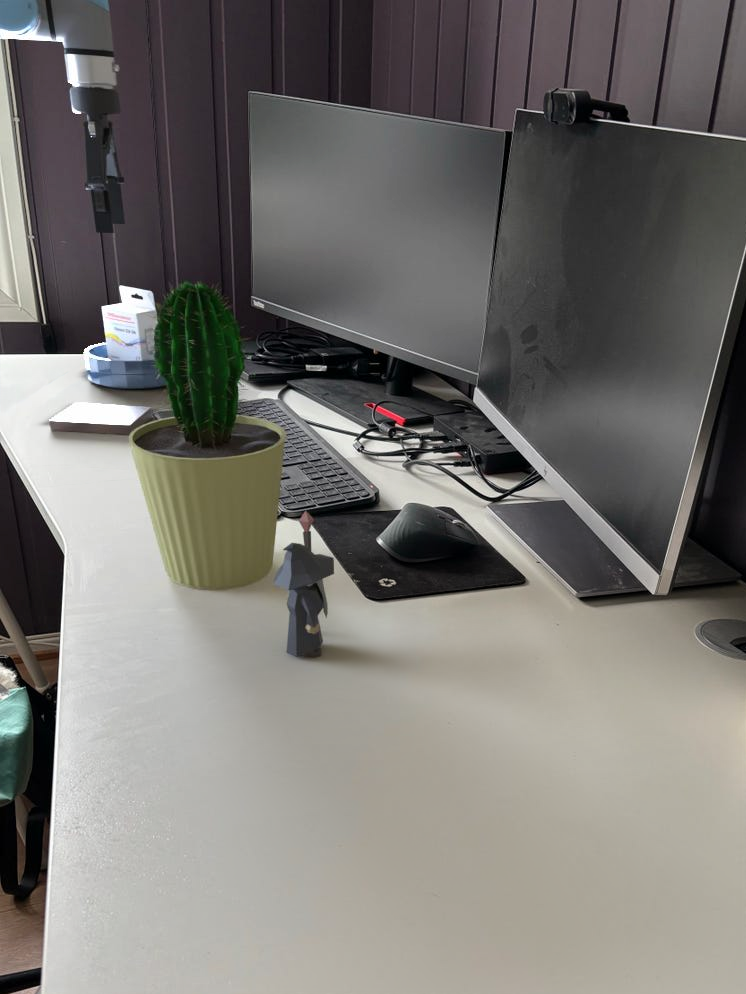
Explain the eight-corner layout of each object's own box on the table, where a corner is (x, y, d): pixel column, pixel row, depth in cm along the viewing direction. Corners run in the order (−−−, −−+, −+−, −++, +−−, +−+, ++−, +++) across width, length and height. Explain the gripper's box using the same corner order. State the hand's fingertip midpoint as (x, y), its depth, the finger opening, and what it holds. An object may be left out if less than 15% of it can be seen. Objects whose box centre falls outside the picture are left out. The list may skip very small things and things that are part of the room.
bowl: (73, 387, 163) (69, 358, 161) (108, 365, 177) (104, 338, 175) (168, 393, 163) (165, 363, 161) (195, 371, 177) (193, 343, 175)
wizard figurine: (345, 660, 88) (343, 540, 82) (285, 671, 86) (279, 548, 80) (318, 621, 94) (314, 506, 88) (262, 630, 92) (254, 513, 86)
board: (50, 430, 142) (48, 420, 142) (77, 412, 151) (75, 402, 150) (131, 435, 142) (129, 425, 142) (152, 416, 151) (151, 407, 150)
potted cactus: (321, 569, 105) (312, 280, 90) (201, 613, 94) (169, 295, 80) (236, 528, 113) (215, 259, 99) (117, 565, 103) (74, 270, 88)
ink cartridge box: (108, 374, 170) (96, 287, 163) (129, 369, 174) (119, 284, 167) (144, 382, 167) (133, 294, 159) (165, 377, 170) (155, 290, 163)
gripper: (106, 87, 145) (123, 237, 156) (128, 89, 167) (142, 221, 177) (53, 84, 144) (75, 235, 154) (82, 86, 165) (99, 219, 176)
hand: (111, 228), depth 166 cm, fingers open, 13 cm apart
